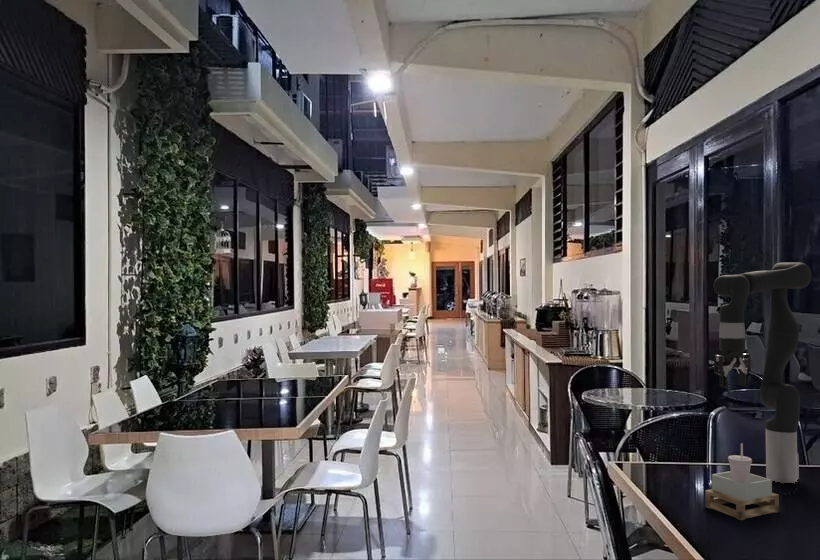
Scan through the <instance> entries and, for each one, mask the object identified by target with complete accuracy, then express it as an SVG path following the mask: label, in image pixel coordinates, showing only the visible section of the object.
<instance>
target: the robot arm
mask: <svg viewBox="0 0 820 560" xmlns="http://www.w3.org/2000/svg"><path fill="white" fill-rule="evenodd" d="M811 280H812V271H811V267H809V265H808V264H806V263H803V262H797V261H796V262H777V263H775V264H774V265H773V266H772V268H771V269H770V270H756V271H749V272H744V273H740V274H737V273H736V274H726V275H725V274H724V275H720V276H718V277H717V278H716V279H715V280H714V282H713V290H714V292H715V294H717V295H718V296H719V297H723V298H726V297H727V298H731V300H730V302H729V303H726V304H722V305H721V306H720V308H719V330H718V331H719V332H718V333H719V334H718V336H719V339H718V342H719V346H718V347H719V350H720V352H721V355H719V354H715V355H714V358H713V360H714V361H713V362H714V363H713V373H714V374H716V375H718V376H719V377H718V379H719V380H718V381H719V382H718V383H719V387H720V388H722V389H724V388H725V389H726V388H728V376H727V375H729V372H730V371H731V370H732V369H736V371H737V373H738V374H737V385H738V386H739V387H740V386H742V387H745V386H747V374H748V373H750V372H752V363H751V354H750V353H743V352H745V351H746V327H745V309H746V305H747V301H748V297H749V294H754V293H755V294H756V293H761V292H766V291H770V308H769V309H770V311H769V322H768V331H767V340H766V341H767V345H766V354H765V362H764V368H763V373H762V378H761V383H760V384H761V385H760V388H759V389H760V390H759V398H760V401H761V404H763V406H765V407H766V408H769V409H773V410H775V413H774V414H775V415H774V417H773V418H769V419H767V420H766V421H765V467H766V468H765V470H766V471H765V474H766V475H765V476H766V477H765V478H767V479H771V480H772V482H773V481H775V482H774V483H777V482H780V483H779V484H784V483H794V484H796V483H795V482H797V483H798V481H797V480H798V479H799V480H800V473H799V471H800V468H799V467H800V465H799V464H800V463H799V455H800V454H799V452H798V430H797V429H798V425H799V422H800V411H801V398H800V397H801V396H800V392H799V390H798V388H796V387H795V386H794V385H791V384H788V383H783V379H784V371H785V368H786V366H787V364H788V363H789V361H790V360H792V359H791V358H792V357H793V355H794V354H795V352H797V349H798V345H799V338H800V326H799V323H798V321H797V319H796V317H795V315H794V313H793V312H792V310H791V307H790V306H789V303H788V290H792V289H793V290H799V289H803V288H806V287H807V286H809V284H810V283H811Z"/></svg>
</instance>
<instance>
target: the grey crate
mask: <svg viewBox="0 0 820 560" xmlns="http://www.w3.org/2000/svg"><path fill="white" fill-rule="evenodd" d="M711 489H712V490H715V491H718V492H721V493H724V494H727V495H730V496H733V497H736V498H739V499H741V500H744V501H748V500H752V499H757V498H762V497H767V496H772V493H773V481H772V480H771V479H767V478H766V477H763V476H760V475H756V474H753V473H750V474H749V482H748V483H747V484H744V483H741V482H737V481H734V480H732V477H731V470H730V471H724V472H717V473H712V474H711Z"/></svg>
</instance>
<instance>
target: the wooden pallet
mask: <svg viewBox="0 0 820 560" xmlns="http://www.w3.org/2000/svg"><path fill="white" fill-rule="evenodd" d="M779 496H780V494H778V493H774V492H772V496H767V497H762V498H757V499H752V500H748V501H744V500H741V499H739V498H736V497H733V496H730V495H727V494H724V493H721V492H718V491H715V490H712V488H711V489H710V488H709V489H706V490H705V498H704V499H705V508H708V509H712V510H714V511H717V512H720V513H723V514H725V515H727V516H731V517H733V518H736V519H737V520H740V521H744V520H746V519H749V518H754V517H759V516H763V515H767V514H773V513H774V514H775V513H779V512H780V503H779V499H780V497H779ZM729 503H732V504H734V505H735V508H733V507H730V506H728V505H725V504H729ZM752 504H753V505H757V506H759V507H754V508H753V507H752V508H748V509H746V506H747V505H752Z"/></svg>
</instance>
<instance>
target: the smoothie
mask: <svg viewBox="0 0 820 560" xmlns="http://www.w3.org/2000/svg"><path fill="white" fill-rule="evenodd" d="M727 461H728V462H729V469H730V471H731V477H732V480H734V481H737V482H741V483H744V484H747V483H748V482H749V474H751V466H752V463H753V459H752V458H751V457H749V456H744V443H740V455H734V454H733V455H729V456H727Z"/></svg>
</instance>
